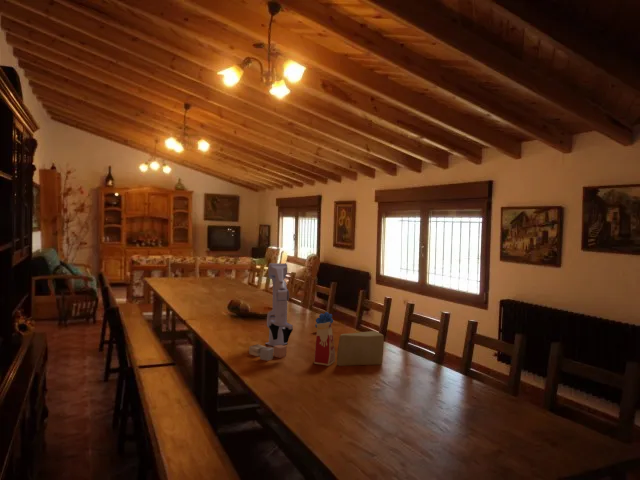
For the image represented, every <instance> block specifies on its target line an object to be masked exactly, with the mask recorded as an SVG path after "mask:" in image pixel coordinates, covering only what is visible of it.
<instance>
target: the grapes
mask: <svg viewBox="0 0 640 480" xmlns="http://www.w3.org/2000/svg"><path fill="white" fill-rule="evenodd" d="M327 322H330V325H331V326H332V324H333V322H334V319H333V314H332V313H329V312H328V311H325V312H324V313H320V314H319V316H318V317H317V318H316V319H315V324H314V327H315V328H316V329H317V325H316V324H322V323H327Z"/></svg>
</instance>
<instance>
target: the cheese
mask: <svg viewBox="0 0 640 480" xmlns="http://www.w3.org/2000/svg"><path fill="white" fill-rule="evenodd" d="M338 338H339V339H338V344H337V345H338V346H337V353H336V355H337V357H336V365H337V366H339V367H341V366H342V367H343V366H345V367H347V366H368V365H369V366H370V365H371V366H375V365H377V366H379V365H383V362H384V361H383V360H384V359H383V358H384V340H385V337H384V334H382V333H380V332H378V331H376V330H371V331H361V332H353V333H341V334H340V335H339V337H338Z"/></svg>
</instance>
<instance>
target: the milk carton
mask: <svg viewBox="0 0 640 480" xmlns="http://www.w3.org/2000/svg"><path fill="white" fill-rule="evenodd" d="M315 324H316V323H315ZM316 325H317V328H316V337H315V345H314V346H315V347H314V349H315V350H314V358H313V360H314V362H313V364H316V365H323V366H327V367H330V366H331V365H332V364H334V362H336V351H335V350H336V349H335V339H334V335H333V329H332V324H331V325H330V322H327V323H322V324H316Z"/></svg>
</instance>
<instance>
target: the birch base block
mask: <svg viewBox="0 0 640 480" xmlns="http://www.w3.org/2000/svg"><path fill="white" fill-rule="evenodd" d="M265 347H267V346H265V345H262V344H259V343H258V344H253V345H250V346H248V348H249V349H248V355H252V356H255V357H260V349H262V348H265Z"/></svg>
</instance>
